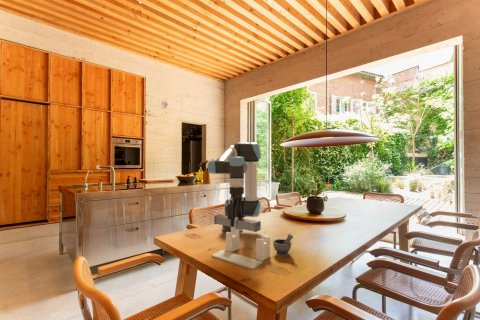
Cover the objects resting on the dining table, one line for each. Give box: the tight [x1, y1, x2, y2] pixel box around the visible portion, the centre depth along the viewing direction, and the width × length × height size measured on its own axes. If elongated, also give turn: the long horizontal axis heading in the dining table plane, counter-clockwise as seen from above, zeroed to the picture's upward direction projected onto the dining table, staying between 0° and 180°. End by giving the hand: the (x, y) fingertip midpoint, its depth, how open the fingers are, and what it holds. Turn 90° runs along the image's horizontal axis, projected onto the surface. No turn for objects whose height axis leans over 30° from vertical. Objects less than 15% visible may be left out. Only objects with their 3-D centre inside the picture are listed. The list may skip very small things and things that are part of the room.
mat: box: [211, 249, 263, 270], centre depth 125 cm, size 26×9×1 cm, turn 55°
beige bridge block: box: [225, 230, 240, 253], centre depth 139 cm, size 4×8×10 cm, turn 145°
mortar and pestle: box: [272, 233, 294, 258], centre depth 132 cm, size 11×9×12 cm
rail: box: [213, 214, 262, 233], centre depth 125 cm, size 26×5×4 cm, turn 55°
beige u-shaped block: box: [255, 235, 271, 262], centre depth 128 cm, size 4×8×10 cm, turn 145°
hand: (236, 231), depth 125 cm, fingers closed on rail, 4 cm apart
